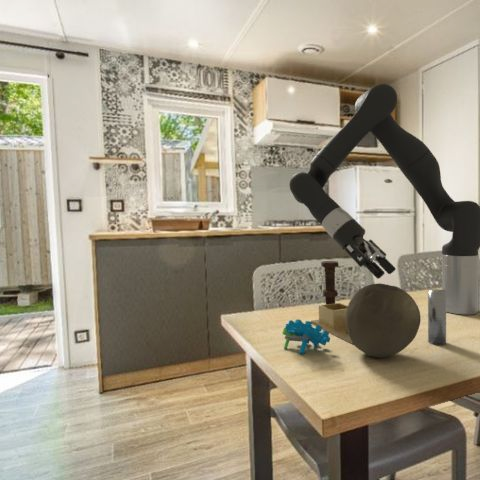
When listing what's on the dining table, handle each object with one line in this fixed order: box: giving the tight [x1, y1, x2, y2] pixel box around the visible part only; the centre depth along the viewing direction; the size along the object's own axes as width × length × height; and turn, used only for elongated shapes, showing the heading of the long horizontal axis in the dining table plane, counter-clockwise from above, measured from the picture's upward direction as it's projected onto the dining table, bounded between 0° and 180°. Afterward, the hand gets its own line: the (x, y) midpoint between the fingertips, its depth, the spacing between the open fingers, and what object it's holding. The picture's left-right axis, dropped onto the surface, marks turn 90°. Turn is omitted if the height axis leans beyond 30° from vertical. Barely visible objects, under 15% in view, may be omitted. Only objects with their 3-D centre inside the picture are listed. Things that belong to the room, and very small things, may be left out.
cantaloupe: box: [346, 282, 421, 359], centre depth 73 cm, size 14×14×15 cm
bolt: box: [320, 260, 339, 305], centre depth 115 cm, size 6×5×15 cm
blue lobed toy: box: [282, 318, 331, 355], centre depth 77 cm, size 11×6×10 cm
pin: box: [427, 288, 447, 346], centre depth 79 cm, size 4×4×12 cm
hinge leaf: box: [310, 302, 354, 345], centre depth 91 cm, size 12×18×5 cm, turn 20°
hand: (387, 274), depth 86 cm, fingers open, 8 cm apart
